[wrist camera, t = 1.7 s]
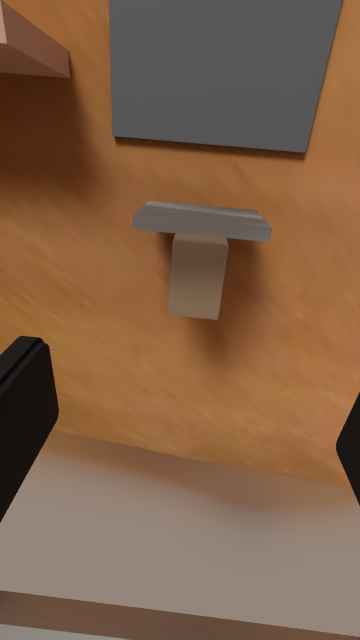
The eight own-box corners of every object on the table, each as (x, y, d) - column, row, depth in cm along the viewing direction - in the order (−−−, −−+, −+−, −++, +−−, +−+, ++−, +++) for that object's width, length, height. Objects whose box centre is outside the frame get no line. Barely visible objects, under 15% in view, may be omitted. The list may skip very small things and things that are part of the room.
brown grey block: (241, 268, 27) (259, 324, 18) (150, 259, 27) (126, 310, 19) (252, 206, 25) (279, 236, 16) (152, 197, 25) (125, 222, 16)
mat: (303, 152, 23) (305, 152, 22) (114, 136, 23) (112, 136, 23) (376, -156, 16) (381, -164, 16) (107, -174, 16) (104, -183, 16)
